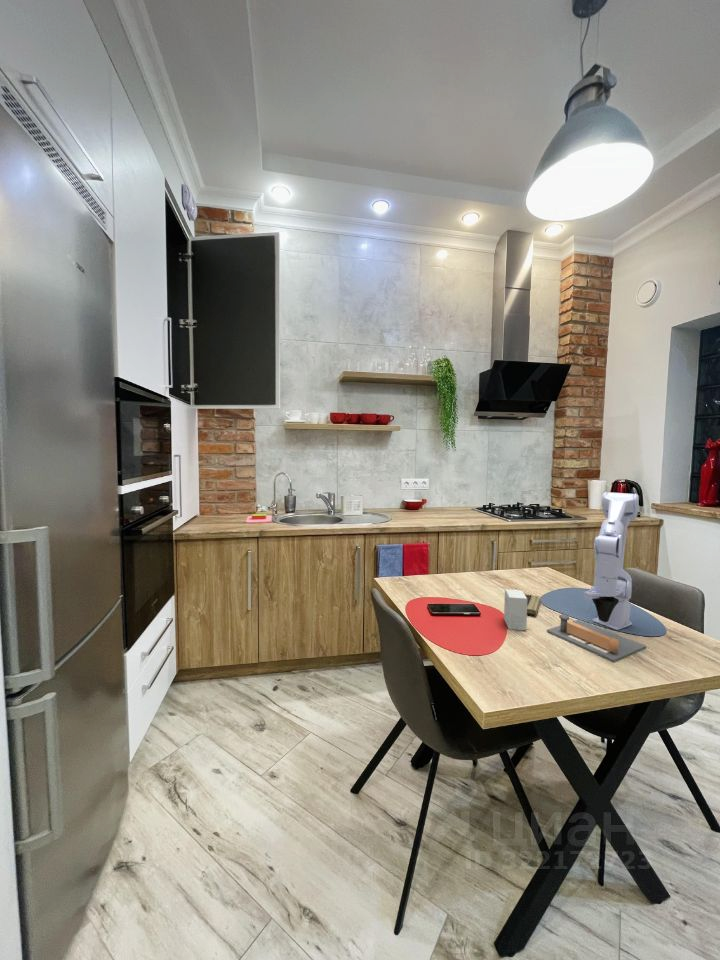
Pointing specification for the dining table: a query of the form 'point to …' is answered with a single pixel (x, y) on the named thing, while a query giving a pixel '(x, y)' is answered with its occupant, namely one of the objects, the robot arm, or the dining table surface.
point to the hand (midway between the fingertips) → (603, 620)
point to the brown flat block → (533, 605)
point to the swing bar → (593, 637)
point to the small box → (515, 609)
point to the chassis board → (624, 648)
